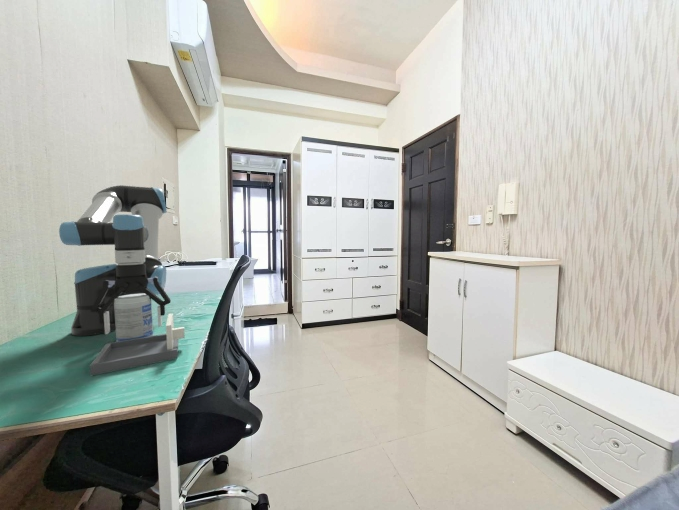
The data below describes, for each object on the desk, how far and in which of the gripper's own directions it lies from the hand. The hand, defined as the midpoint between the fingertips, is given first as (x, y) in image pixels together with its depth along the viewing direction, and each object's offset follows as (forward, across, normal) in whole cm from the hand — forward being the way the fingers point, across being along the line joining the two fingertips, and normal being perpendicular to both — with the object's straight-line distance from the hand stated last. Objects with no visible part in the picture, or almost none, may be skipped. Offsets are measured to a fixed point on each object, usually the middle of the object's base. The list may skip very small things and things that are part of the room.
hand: (134, 329), depth 86 cm
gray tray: (+4, +3, -14) cm, 15 cm away
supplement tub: (+4, 0, 0) cm, 4 cm away
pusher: (+3, +12, -14) cm, 18 cm away
